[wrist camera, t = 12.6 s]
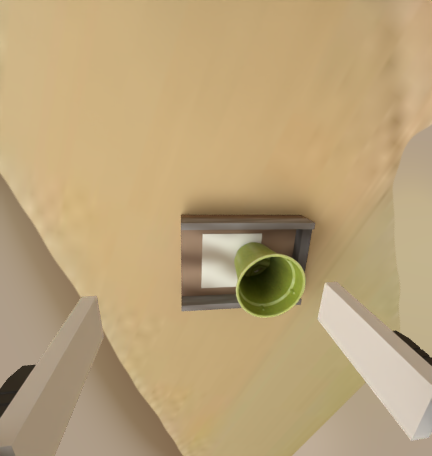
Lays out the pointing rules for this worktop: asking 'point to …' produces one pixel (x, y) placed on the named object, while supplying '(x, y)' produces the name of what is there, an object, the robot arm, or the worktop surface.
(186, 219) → the dock
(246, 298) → the plant pot
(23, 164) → the worktop surface
